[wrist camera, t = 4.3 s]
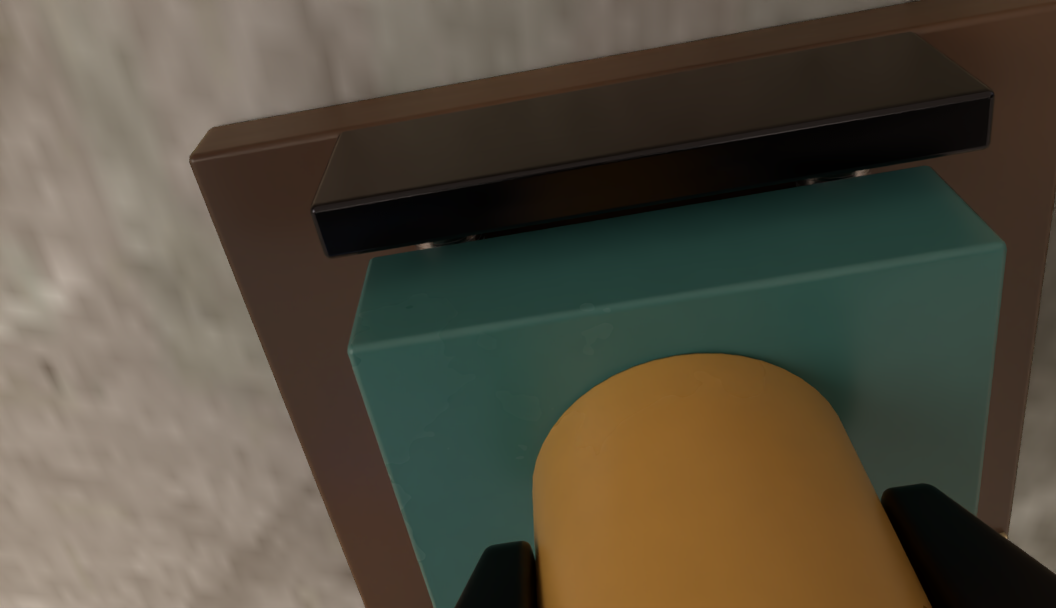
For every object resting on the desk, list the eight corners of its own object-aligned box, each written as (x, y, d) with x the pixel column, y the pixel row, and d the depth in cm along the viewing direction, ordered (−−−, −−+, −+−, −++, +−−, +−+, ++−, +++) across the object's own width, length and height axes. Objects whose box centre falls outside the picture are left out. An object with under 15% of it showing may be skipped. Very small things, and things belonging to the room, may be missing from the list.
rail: (1039, -24, 11) (1209, 53, 8) (956, 712, 18) (1031, 873, 15) (207, 125, 11) (122, 240, 9) (451, 775, 19) (444, 941, 16)
